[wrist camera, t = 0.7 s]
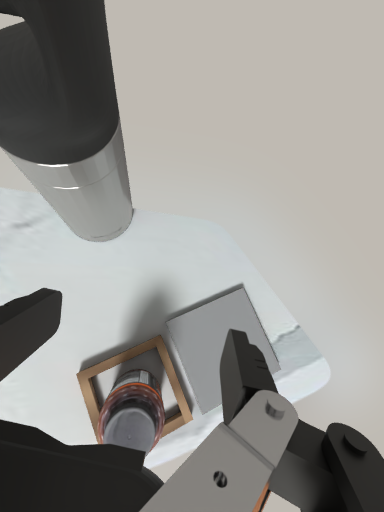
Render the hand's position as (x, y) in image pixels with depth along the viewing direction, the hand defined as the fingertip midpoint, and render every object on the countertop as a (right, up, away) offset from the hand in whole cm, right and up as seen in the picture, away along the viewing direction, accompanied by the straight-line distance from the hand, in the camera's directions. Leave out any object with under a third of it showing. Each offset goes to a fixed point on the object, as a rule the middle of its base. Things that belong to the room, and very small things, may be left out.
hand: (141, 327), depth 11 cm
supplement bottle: (-5, -14, +18) cm, 23 cm away
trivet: (+7, -9, +21) cm, 24 cm away
